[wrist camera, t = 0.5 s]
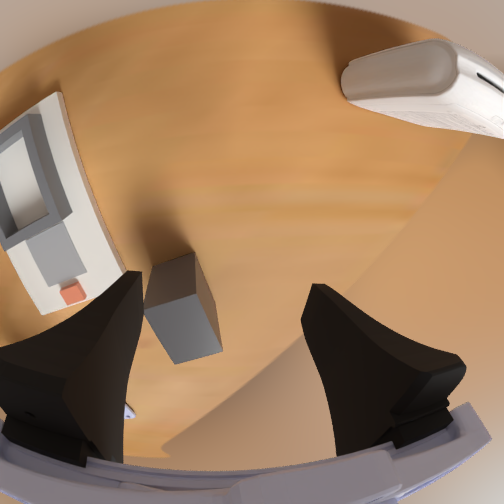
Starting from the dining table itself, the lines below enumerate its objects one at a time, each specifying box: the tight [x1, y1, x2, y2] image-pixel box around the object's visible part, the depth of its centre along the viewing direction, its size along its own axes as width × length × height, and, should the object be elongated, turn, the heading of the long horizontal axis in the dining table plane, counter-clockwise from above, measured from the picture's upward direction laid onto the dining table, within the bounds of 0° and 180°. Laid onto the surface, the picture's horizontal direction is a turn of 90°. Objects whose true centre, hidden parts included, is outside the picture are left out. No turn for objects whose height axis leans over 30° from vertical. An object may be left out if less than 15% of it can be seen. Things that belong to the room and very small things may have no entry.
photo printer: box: [341, 39, 504, 139], centre depth 14 cm, size 10×4×12 cm, turn 87°
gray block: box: [143, 252, 223, 364], centre depth 20 cm, size 4×5×6 cm
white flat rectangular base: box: [0, 91, 126, 315], centre depth 16 cm, size 10×16×3 cm, turn 15°
